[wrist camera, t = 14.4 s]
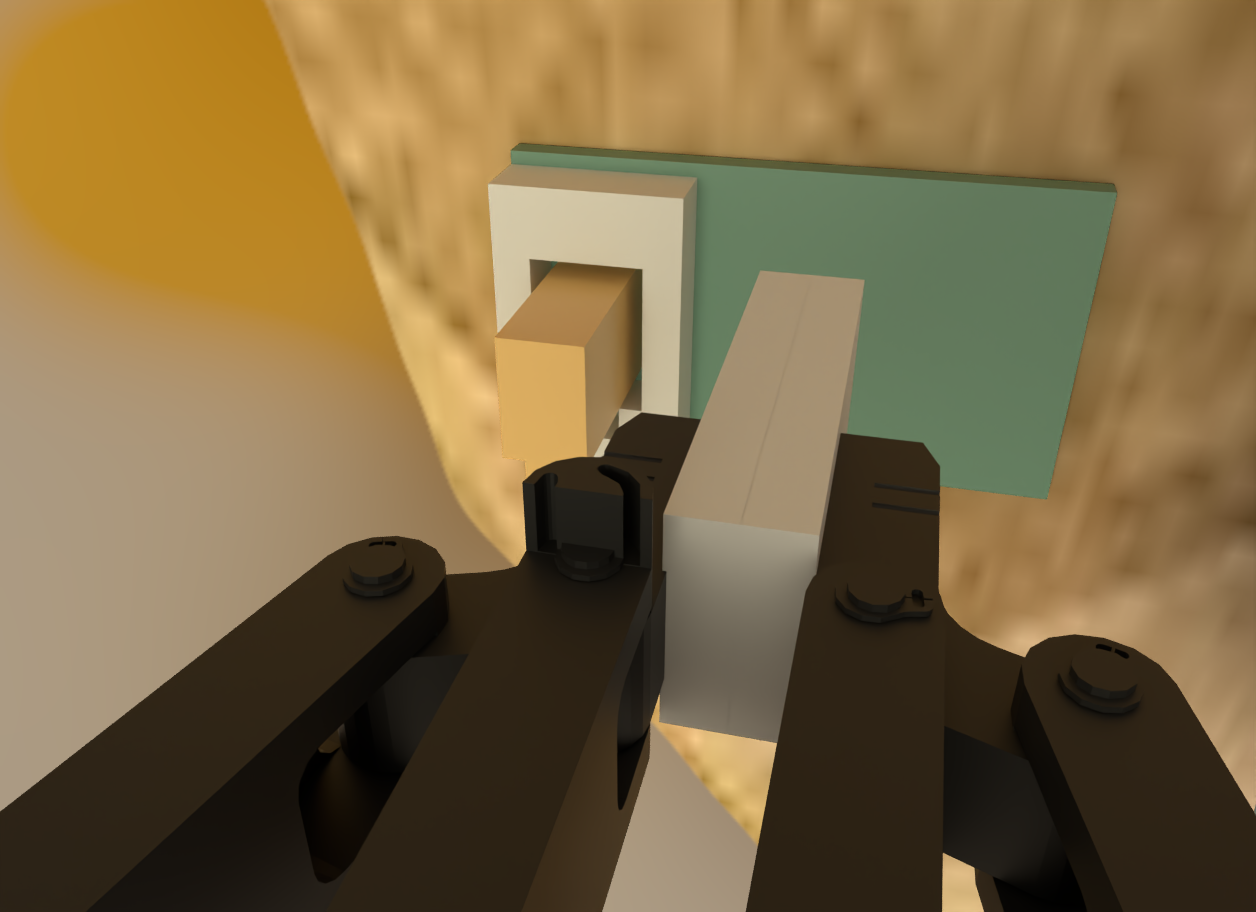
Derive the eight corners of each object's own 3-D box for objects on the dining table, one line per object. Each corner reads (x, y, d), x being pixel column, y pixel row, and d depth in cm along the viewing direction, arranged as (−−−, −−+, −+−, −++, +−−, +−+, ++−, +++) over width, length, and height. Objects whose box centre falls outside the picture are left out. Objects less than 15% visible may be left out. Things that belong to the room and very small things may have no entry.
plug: (642, 258, 42) (584, 347, 35) (642, 384, 44) (587, 488, 38) (566, 251, 42) (494, 337, 36) (570, 376, 45) (504, 477, 38)
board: (1113, 183, 37) (1127, 217, 34) (1044, 485, 43) (1052, 535, 40) (519, 143, 42) (486, 169, 39) (533, 423, 48) (506, 463, 45)
